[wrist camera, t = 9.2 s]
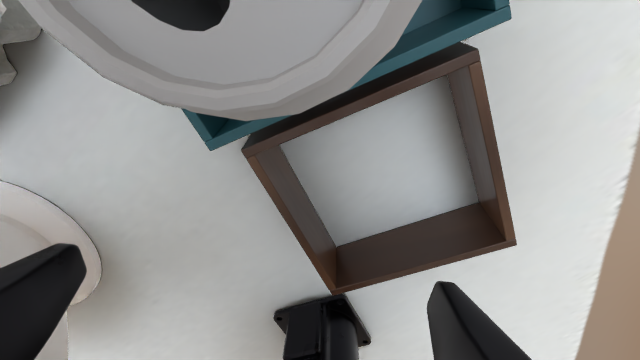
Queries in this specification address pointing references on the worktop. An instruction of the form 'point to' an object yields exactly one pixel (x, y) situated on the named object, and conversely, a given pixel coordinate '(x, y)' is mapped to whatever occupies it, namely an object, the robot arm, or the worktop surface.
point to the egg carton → (14, 33)
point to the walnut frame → (414, 239)
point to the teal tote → (415, 43)
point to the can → (229, 48)
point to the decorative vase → (37, 234)
